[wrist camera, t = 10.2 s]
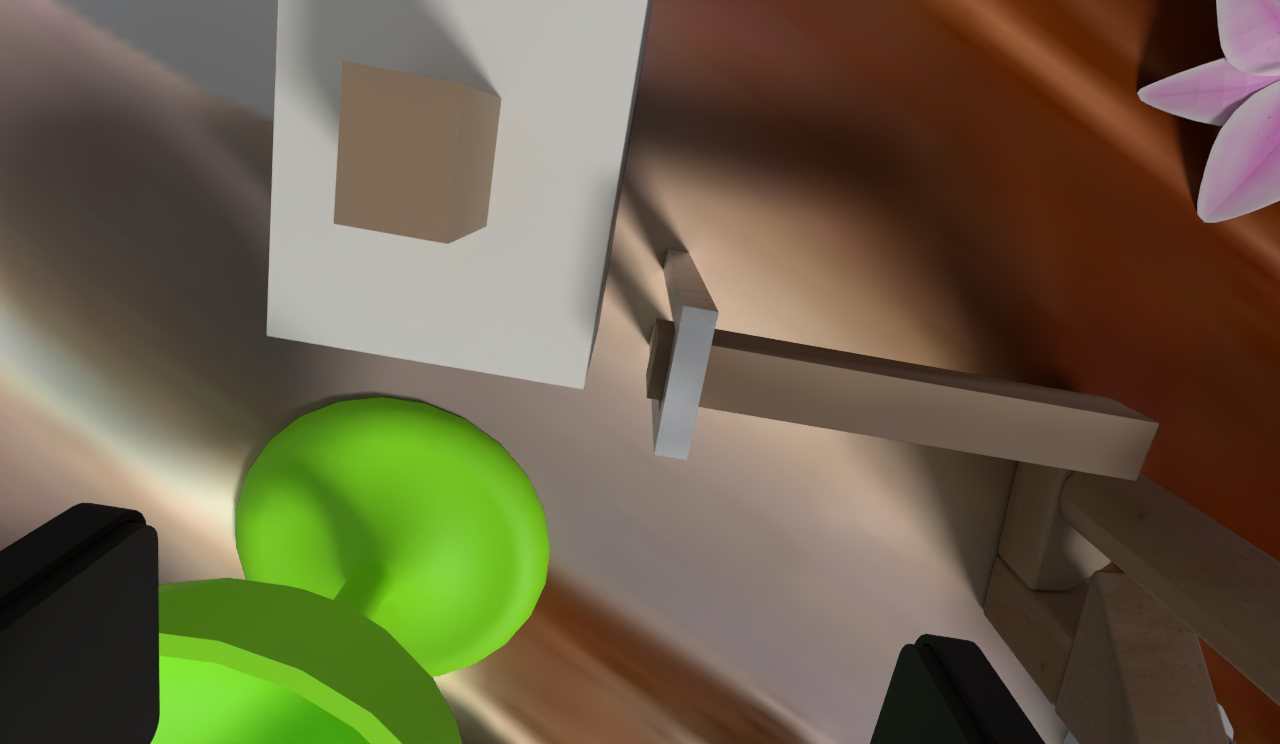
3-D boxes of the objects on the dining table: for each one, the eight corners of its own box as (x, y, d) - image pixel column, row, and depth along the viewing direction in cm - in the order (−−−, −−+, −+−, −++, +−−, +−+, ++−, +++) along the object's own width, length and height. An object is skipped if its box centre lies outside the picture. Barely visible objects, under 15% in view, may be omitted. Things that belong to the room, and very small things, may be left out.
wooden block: (978, 612, 39) (1251, 981, 21) (1023, 421, 36) (1384, 672, 18) (1047, 616, 39) (1375, 988, 21) (1098, 426, 36) (1528, 681, 18)
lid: (312, -104, 23) (177, -211, 16) (654, -36, 24) (660, -112, 17) (293, 322, 27) (178, 378, 20) (587, 373, 28) (570, 443, 21)
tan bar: (656, 318, 25) (658, 336, 22) (1110, 398, 25) (1159, 423, 23) (646, 374, 25) (646, 397, 23) (1090, 450, 26) (1135, 481, 24)
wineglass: (545, 398, 35) (453, 632, 18) (554, 676, 40) (487, 1077, 22) (213, 395, 35) (-198, 627, 18) (259, 674, 40) (-33, 1073, 22)
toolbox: (386, -46, 30) (200, -193, 17) (734, 22, 30) (799, -71, 18) (362, 296, 34) (196, 378, 21) (670, 349, 34) (686, 460, 22)
